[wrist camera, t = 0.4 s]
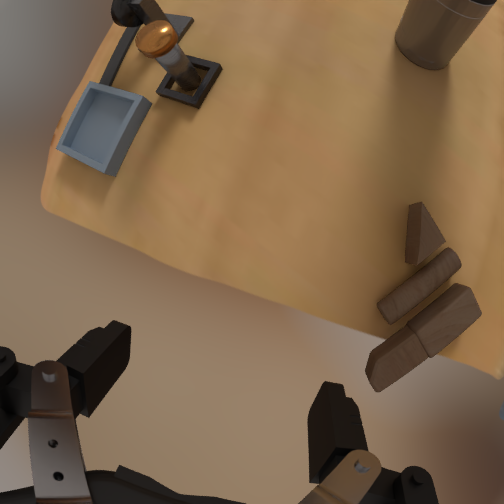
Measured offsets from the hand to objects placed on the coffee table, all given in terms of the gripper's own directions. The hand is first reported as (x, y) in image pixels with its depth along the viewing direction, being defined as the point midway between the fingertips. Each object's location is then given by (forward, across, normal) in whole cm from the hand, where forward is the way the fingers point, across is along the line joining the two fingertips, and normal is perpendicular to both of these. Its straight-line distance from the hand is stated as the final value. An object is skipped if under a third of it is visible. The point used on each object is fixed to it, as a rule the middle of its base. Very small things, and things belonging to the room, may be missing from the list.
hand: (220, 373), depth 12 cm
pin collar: (+33, +16, -18) cm, 41 cm away
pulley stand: (+35, +23, -26) cm, 50 cm away
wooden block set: (+26, -18, +3) cm, 32 cm away
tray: (+33, +28, -9) cm, 44 cm away
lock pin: (+33, +16, -18) cm, 41 cm away
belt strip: (+36, +31, -22) cm, 52 cm away
